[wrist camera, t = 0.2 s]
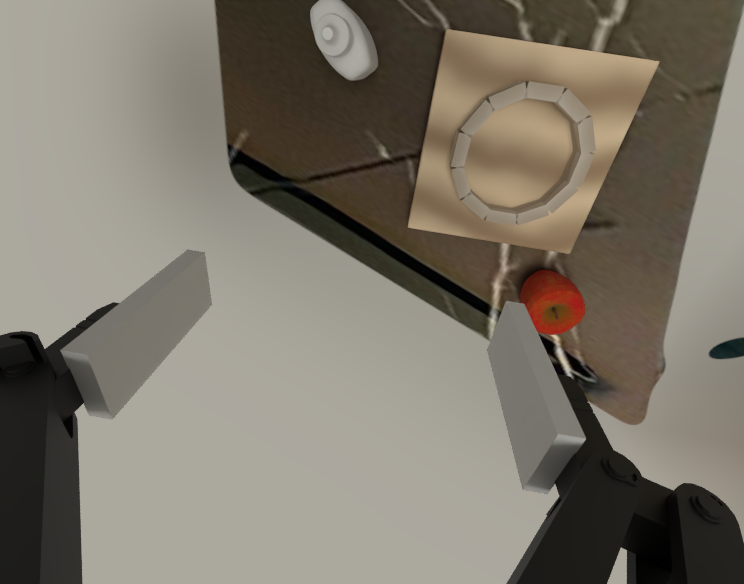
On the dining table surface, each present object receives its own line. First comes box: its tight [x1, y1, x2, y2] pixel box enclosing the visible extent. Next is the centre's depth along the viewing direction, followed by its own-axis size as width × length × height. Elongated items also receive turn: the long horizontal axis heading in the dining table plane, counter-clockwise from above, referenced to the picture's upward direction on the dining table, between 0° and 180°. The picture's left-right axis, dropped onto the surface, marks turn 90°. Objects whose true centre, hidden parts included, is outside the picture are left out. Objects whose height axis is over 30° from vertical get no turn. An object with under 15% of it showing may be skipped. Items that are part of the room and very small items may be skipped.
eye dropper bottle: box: [310, 0, 378, 81], centre depth 28 cm, size 4×6×12 cm
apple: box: [520, 270, 585, 335], centre depth 41 cm, size 6×6×8 cm
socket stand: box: [408, 29, 660, 254], centre depth 35 cm, size 18×18×4 cm
